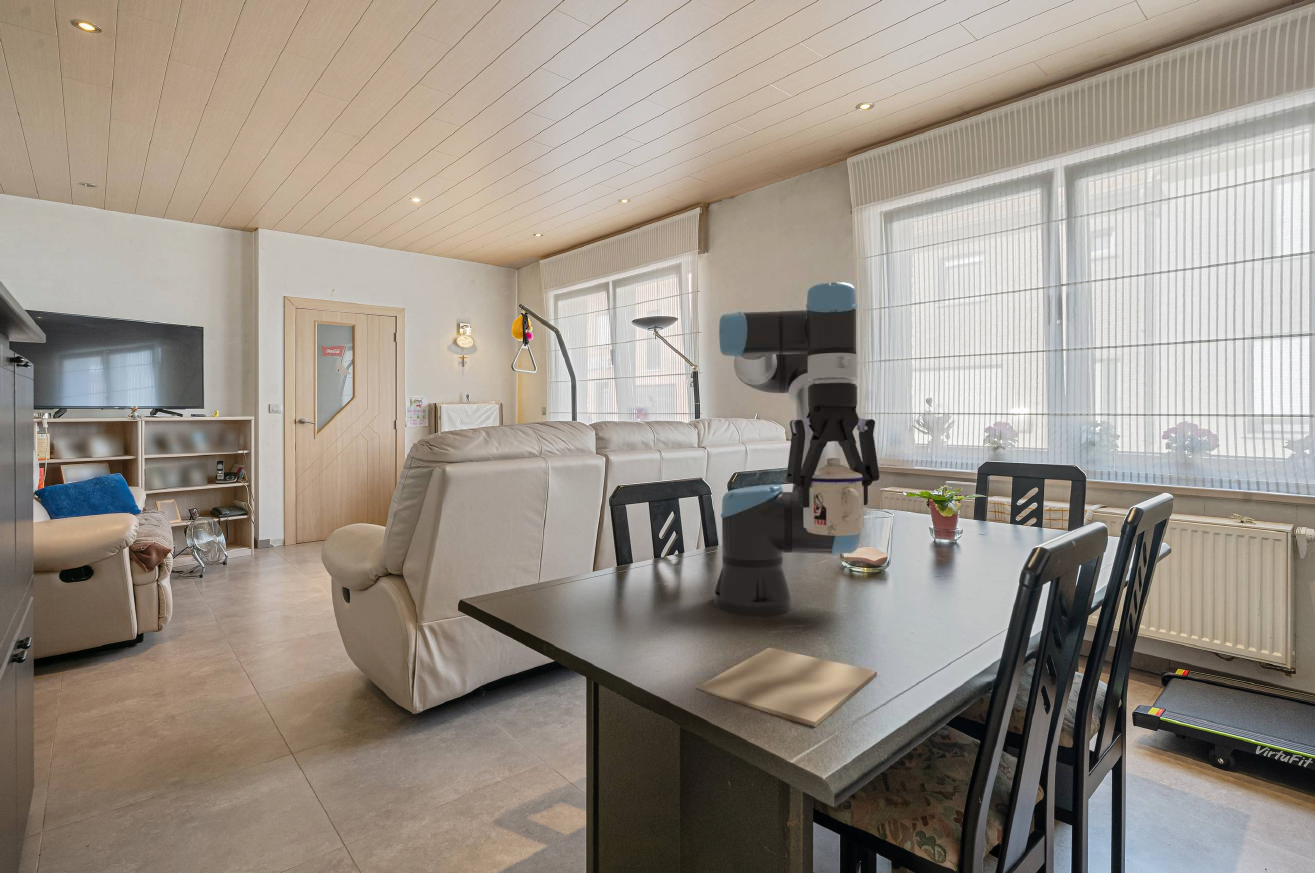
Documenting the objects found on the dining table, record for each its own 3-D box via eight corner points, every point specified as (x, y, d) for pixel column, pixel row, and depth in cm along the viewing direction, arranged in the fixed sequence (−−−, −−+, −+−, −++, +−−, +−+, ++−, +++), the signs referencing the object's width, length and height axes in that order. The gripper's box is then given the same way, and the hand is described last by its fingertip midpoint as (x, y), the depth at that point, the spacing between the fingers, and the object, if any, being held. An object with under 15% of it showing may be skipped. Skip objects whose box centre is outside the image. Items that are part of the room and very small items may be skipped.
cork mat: (695, 692, 86) (695, 687, 86) (769, 651, 102) (769, 647, 102) (815, 726, 76) (815, 721, 76) (877, 675, 91) (876, 671, 91)
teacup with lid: (795, 528, 107) (794, 457, 107) (846, 526, 109) (845, 456, 108) (828, 540, 95) (828, 460, 95) (885, 537, 97) (884, 459, 97)
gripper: (781, 380, 97) (783, 533, 97) (903, 381, 102) (905, 527, 102) (762, 384, 104) (764, 526, 105) (877, 385, 109) (878, 521, 109)
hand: (833, 527), depth 103 cm, fingers closed on teacup with lid, 8 cm apart
